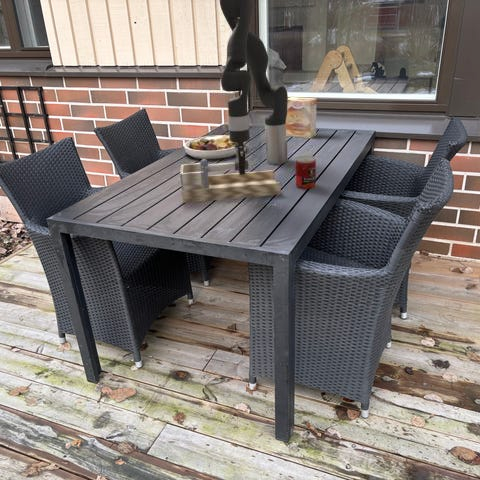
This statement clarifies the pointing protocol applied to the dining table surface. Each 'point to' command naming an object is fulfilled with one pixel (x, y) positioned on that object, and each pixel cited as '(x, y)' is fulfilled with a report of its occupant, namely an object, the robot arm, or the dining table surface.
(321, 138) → the dining table surface
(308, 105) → the coffeecake box
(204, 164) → the rod
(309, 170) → the canned food
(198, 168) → the game board
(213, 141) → the bowl
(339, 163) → the dining table surface
